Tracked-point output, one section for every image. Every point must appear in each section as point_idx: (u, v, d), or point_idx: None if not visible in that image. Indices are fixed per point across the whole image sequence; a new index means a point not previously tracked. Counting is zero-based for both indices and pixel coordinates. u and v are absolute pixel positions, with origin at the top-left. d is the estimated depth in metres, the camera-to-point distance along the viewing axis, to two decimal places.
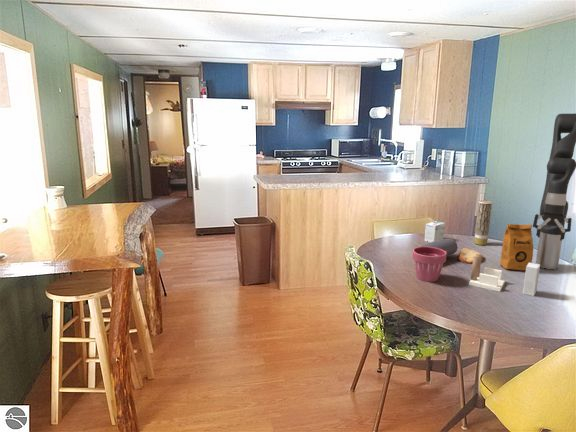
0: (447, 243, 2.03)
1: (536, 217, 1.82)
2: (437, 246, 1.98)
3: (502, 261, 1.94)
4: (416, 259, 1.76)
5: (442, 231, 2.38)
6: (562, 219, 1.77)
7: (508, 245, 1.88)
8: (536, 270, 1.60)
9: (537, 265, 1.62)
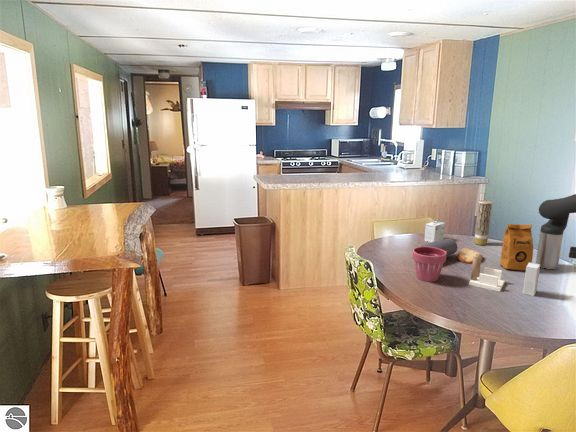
0: (447, 243, 2.03)
1: None
2: (437, 246, 1.98)
3: (502, 261, 1.94)
4: (416, 259, 1.76)
5: (442, 231, 2.38)
6: None
7: (508, 245, 1.88)
8: (536, 270, 1.60)
9: (537, 265, 1.62)
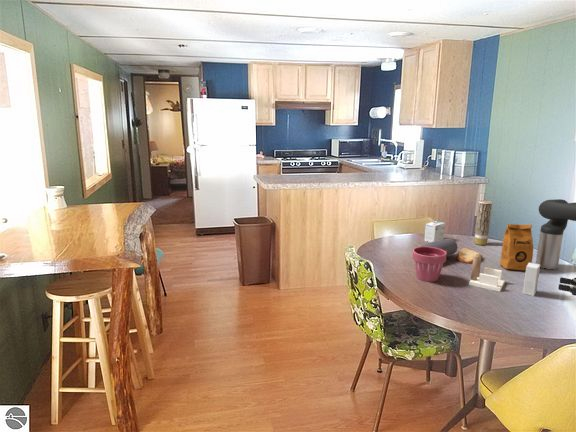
0: (447, 243, 2.03)
1: None
2: (437, 246, 1.98)
3: (502, 261, 1.94)
4: (416, 259, 1.76)
5: (442, 231, 2.38)
6: None
7: (508, 245, 1.88)
8: (536, 270, 1.60)
9: (537, 265, 1.62)
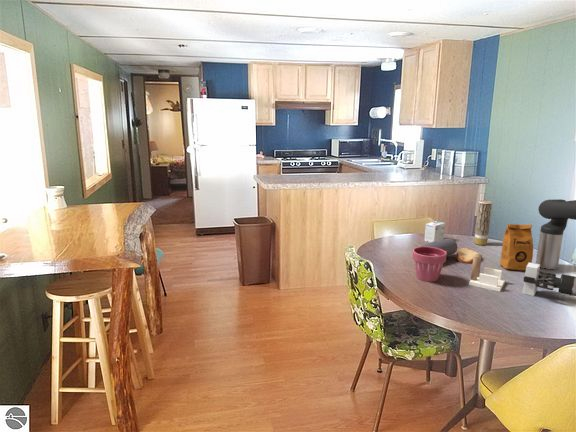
0: (447, 243, 2.03)
1: None
2: (437, 246, 1.98)
3: (502, 261, 1.94)
4: (416, 259, 1.76)
5: (442, 231, 2.38)
6: None
7: (508, 245, 1.88)
8: (536, 270, 1.60)
9: (537, 265, 1.62)
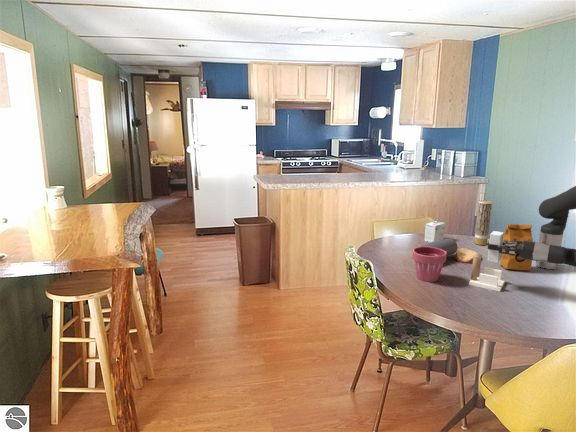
0: (447, 243, 2.03)
1: None
2: (437, 246, 1.98)
3: (502, 261, 1.94)
4: (416, 259, 1.76)
5: (442, 231, 2.38)
6: None
7: None
8: (499, 237, 1.65)
9: (501, 233, 1.68)
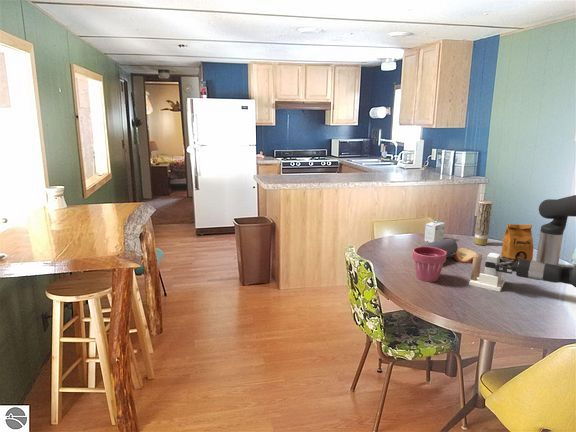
0: (447, 243, 2.03)
1: None
2: (437, 246, 1.98)
3: None
4: (416, 259, 1.76)
5: (442, 231, 2.38)
6: None
7: (508, 245, 1.88)
8: (496, 259, 1.67)
9: (497, 255, 1.70)
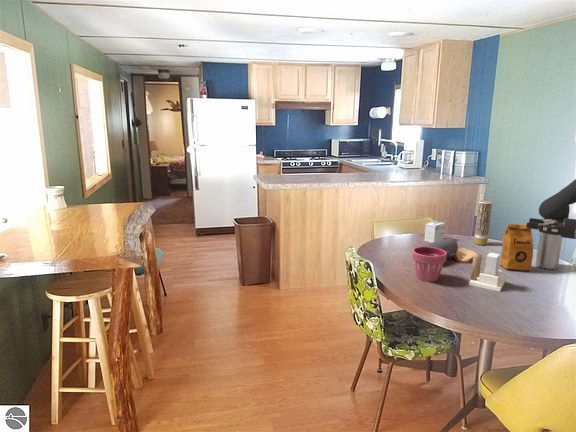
0: (448, 243, 2.03)
1: None
2: (438, 246, 1.98)
3: (502, 261, 1.94)
4: (416, 259, 1.76)
5: (442, 231, 2.38)
6: None
7: (508, 245, 1.88)
8: (496, 259, 1.67)
9: (497, 255, 1.70)
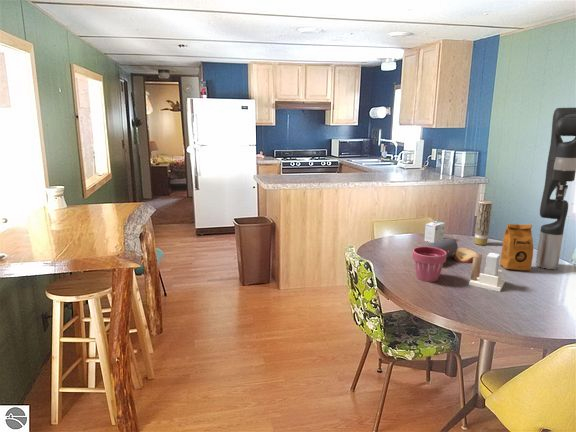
0: (448, 243, 2.03)
1: (564, 188, 1.57)
2: (440, 246, 1.98)
3: (502, 261, 1.94)
4: (416, 259, 1.76)
5: (442, 231, 2.38)
6: None
7: (508, 245, 1.88)
8: (496, 259, 1.67)
9: (497, 255, 1.70)
